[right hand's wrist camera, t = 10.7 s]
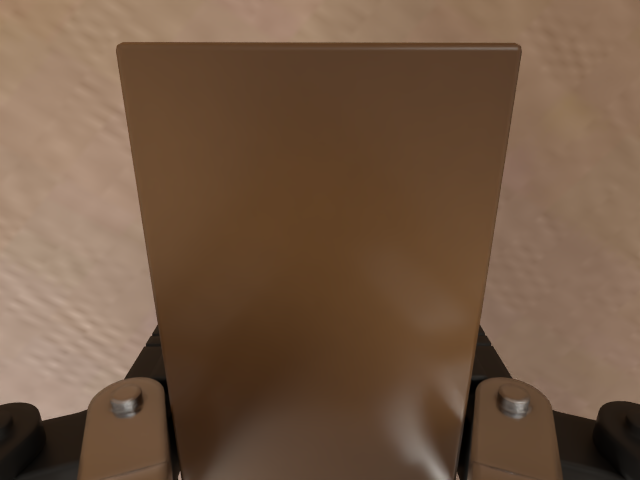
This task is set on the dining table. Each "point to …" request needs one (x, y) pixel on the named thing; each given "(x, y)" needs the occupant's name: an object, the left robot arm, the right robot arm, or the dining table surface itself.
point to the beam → (318, 247)
